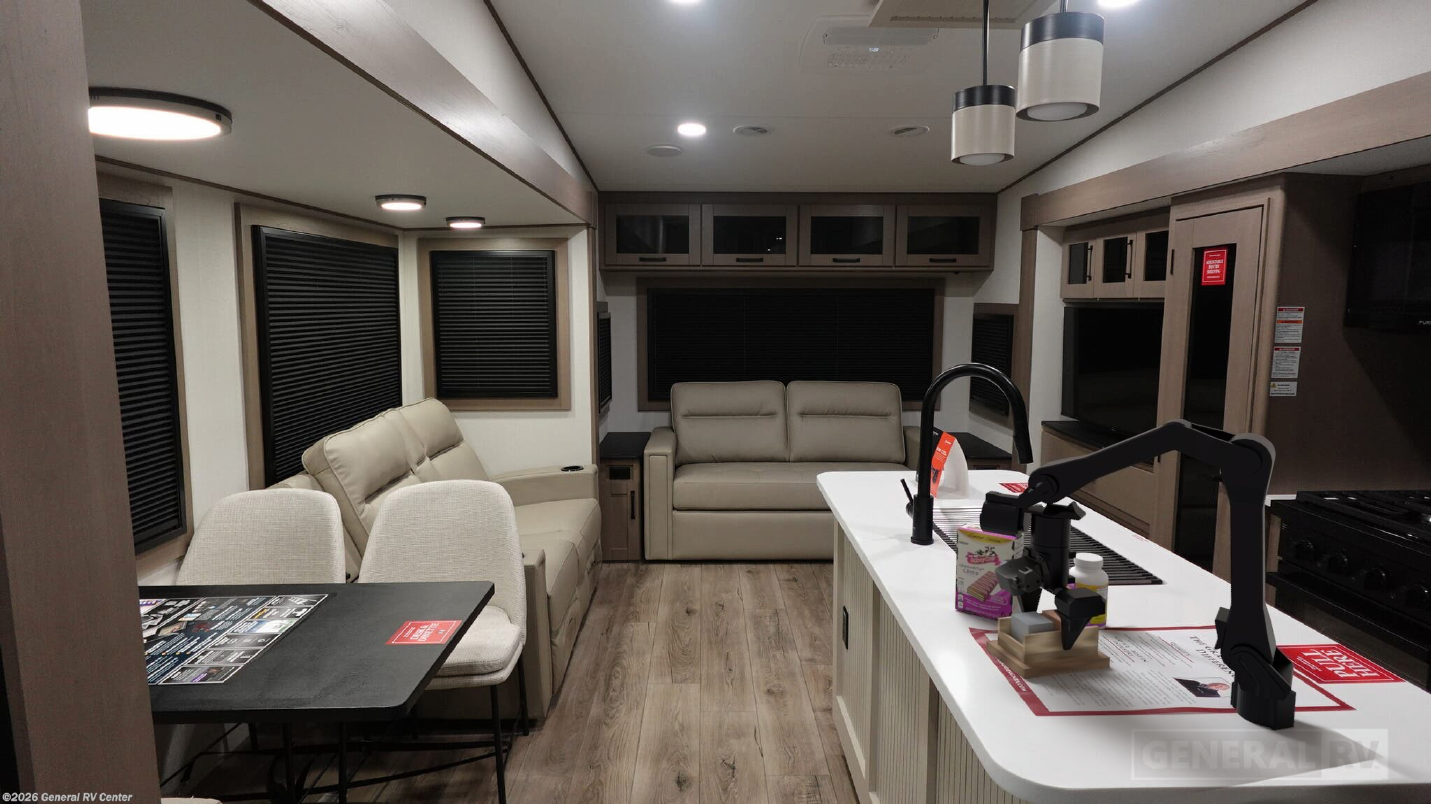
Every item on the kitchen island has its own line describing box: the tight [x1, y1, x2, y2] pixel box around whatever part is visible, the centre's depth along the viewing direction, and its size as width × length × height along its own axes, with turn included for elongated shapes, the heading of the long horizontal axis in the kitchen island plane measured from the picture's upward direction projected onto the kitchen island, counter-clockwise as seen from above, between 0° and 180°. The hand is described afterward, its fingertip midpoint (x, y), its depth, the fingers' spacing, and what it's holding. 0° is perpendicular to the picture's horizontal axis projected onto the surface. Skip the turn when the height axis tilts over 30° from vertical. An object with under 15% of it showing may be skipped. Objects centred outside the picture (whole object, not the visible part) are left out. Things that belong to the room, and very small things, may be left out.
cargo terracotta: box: [1041, 608, 1061, 631], centre depth 117 cm, size 4×4×4 cm
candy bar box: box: [954, 522, 1025, 622], centre depth 137 cm, size 11×5×16 cm, turn 47°
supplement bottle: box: [1067, 552, 1109, 631], centre depth 132 cm, size 7×7×13 cm
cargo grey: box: [1011, 611, 1054, 645], centre depth 116 cm, size 4×4×4 cm
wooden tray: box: [997, 612, 1100, 664], centre depth 116 cm, size 13×7×4 cm, turn 102°
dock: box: [985, 639, 1111, 680], centre depth 117 cm, size 10×15×3 cm, turn 102°
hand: (1047, 637), depth 117 cm, fingers open, 9 cm apart
